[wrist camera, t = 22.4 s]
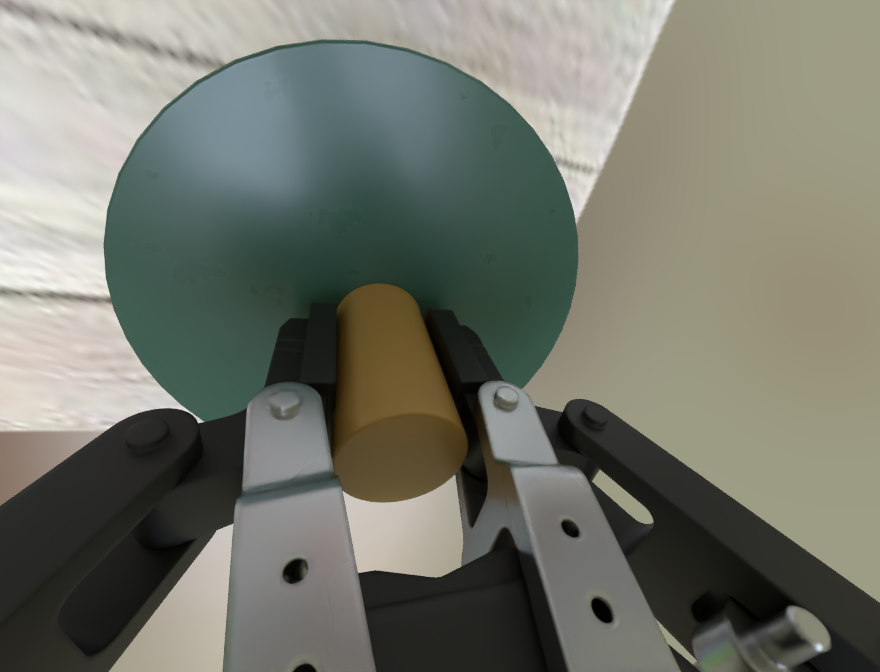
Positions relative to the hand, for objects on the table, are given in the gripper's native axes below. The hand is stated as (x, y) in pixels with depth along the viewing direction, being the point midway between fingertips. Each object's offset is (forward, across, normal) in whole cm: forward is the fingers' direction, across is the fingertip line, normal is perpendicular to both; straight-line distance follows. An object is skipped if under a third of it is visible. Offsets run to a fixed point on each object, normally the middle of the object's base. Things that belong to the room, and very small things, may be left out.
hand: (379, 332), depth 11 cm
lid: (+1, 0, 0) cm, 1 cm away
